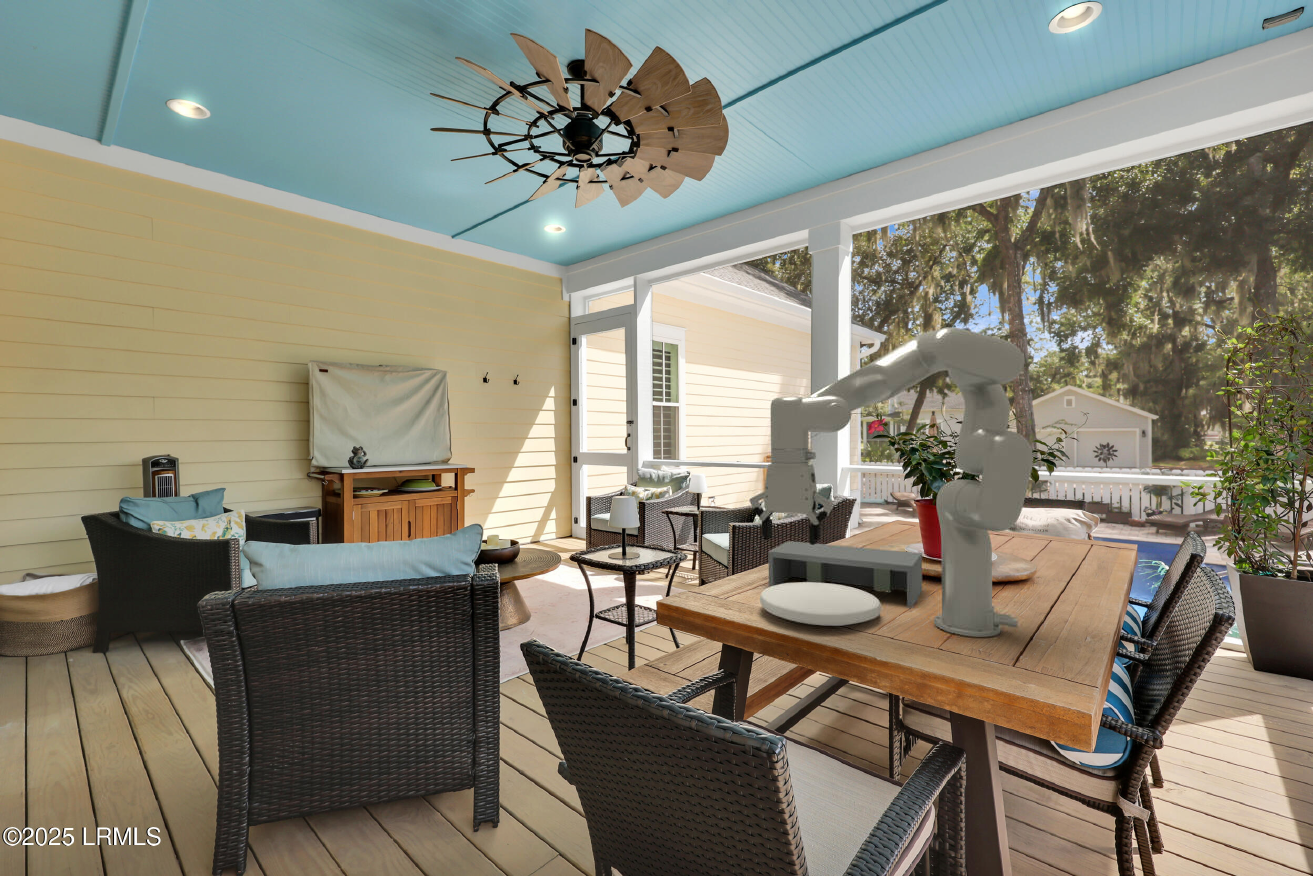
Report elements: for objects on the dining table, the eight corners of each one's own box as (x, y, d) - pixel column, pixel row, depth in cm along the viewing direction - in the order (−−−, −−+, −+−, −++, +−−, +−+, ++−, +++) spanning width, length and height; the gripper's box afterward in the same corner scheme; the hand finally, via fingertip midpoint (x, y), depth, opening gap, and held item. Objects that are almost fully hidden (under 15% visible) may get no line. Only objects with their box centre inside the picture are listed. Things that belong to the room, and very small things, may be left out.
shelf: (922, 591, 153) (921, 553, 153) (912, 607, 139) (912, 566, 139) (788, 575, 172) (788, 541, 172) (768, 588, 158) (768, 551, 158)
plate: (791, 573, 155) (895, 589, 139) (790, 598, 155) (895, 617, 139) (739, 586, 133) (856, 607, 117) (738, 615, 133) (855, 640, 116)
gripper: (837, 457, 118) (838, 542, 118) (756, 456, 127) (757, 534, 127) (827, 459, 111) (827, 548, 112) (743, 458, 121) (743, 540, 121)
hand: (790, 541), depth 119 cm, fingers open, 9 cm apart
